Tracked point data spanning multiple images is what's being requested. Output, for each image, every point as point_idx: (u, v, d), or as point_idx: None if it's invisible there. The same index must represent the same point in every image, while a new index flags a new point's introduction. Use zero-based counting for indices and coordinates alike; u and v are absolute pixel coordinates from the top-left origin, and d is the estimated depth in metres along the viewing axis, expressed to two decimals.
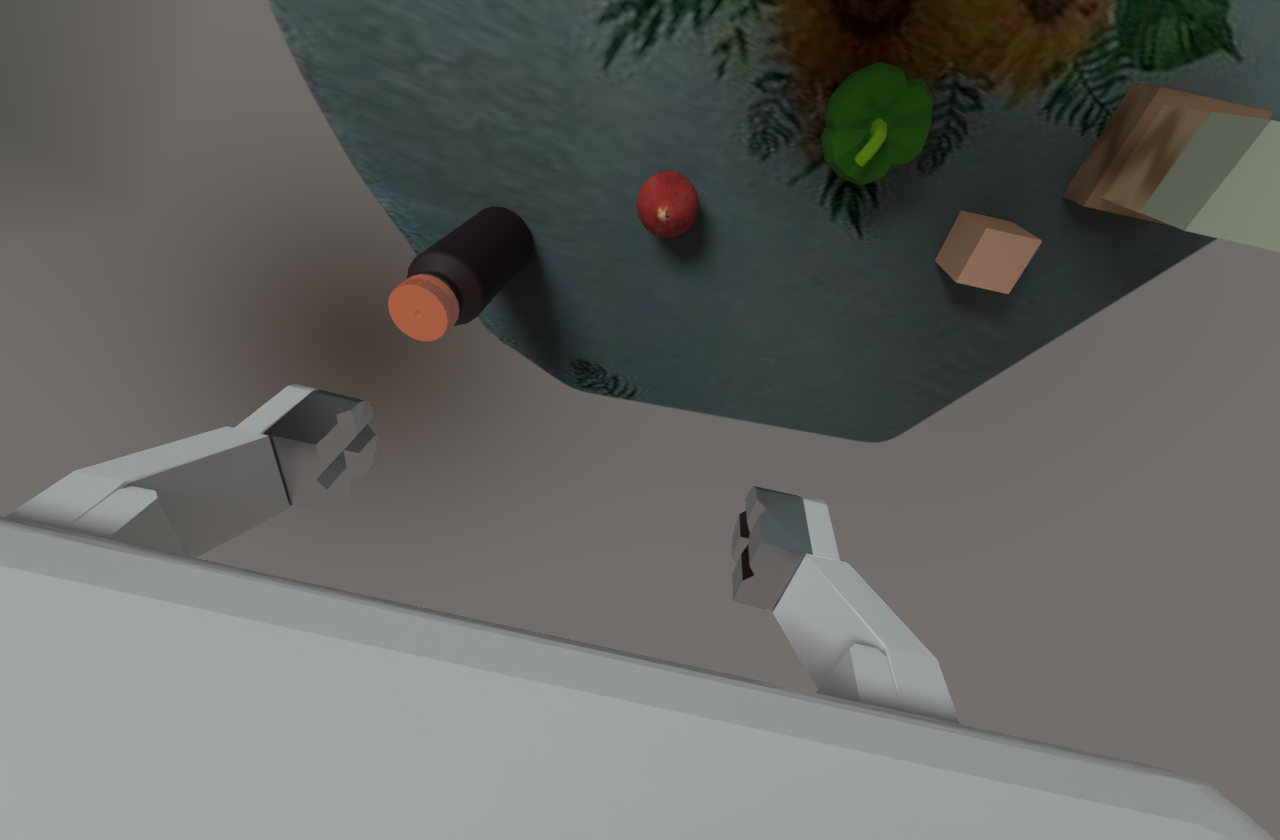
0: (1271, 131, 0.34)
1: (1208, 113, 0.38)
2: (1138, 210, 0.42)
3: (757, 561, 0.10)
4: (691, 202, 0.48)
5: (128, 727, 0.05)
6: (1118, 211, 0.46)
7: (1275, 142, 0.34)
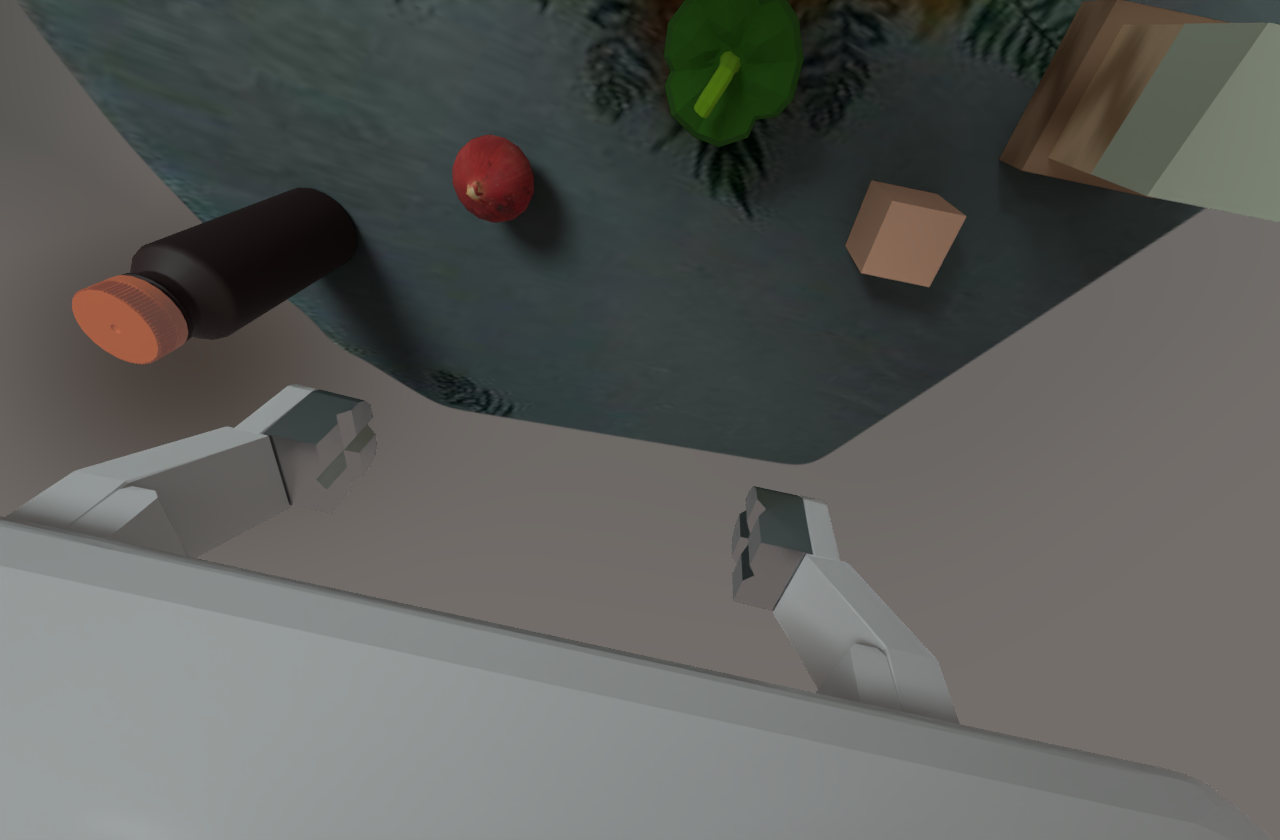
0: (1268, 41, 0.23)
1: (1180, 26, 0.26)
2: (1089, 171, 0.31)
3: (757, 561, 0.10)
4: (516, 175, 0.37)
5: (128, 727, 0.05)
6: (1068, 176, 0.35)
7: (1275, 57, 0.23)
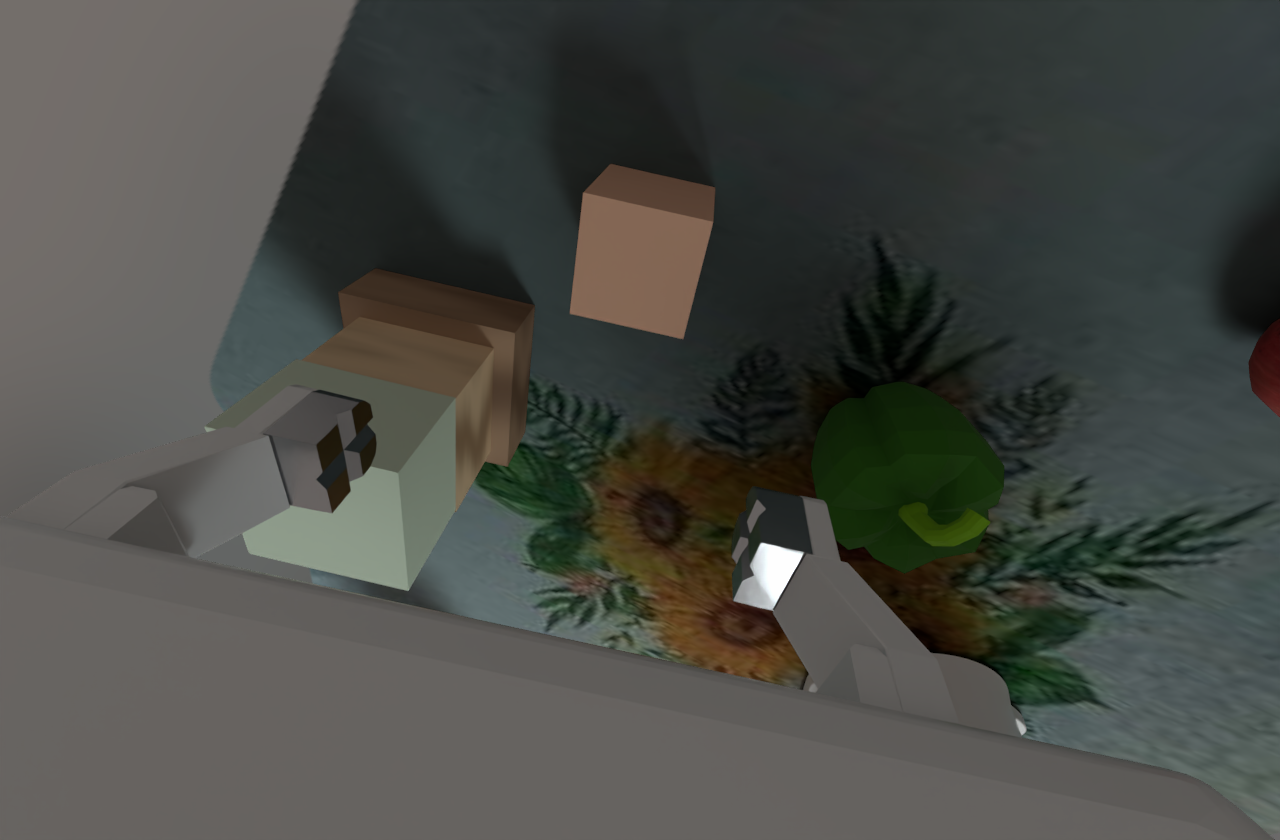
0: (396, 580, 0.23)
1: (457, 508, 0.27)
2: (456, 400, 0.23)
3: (757, 561, 0.10)
4: None
5: (128, 727, 0.05)
6: (455, 322, 0.27)
7: (379, 569, 0.22)
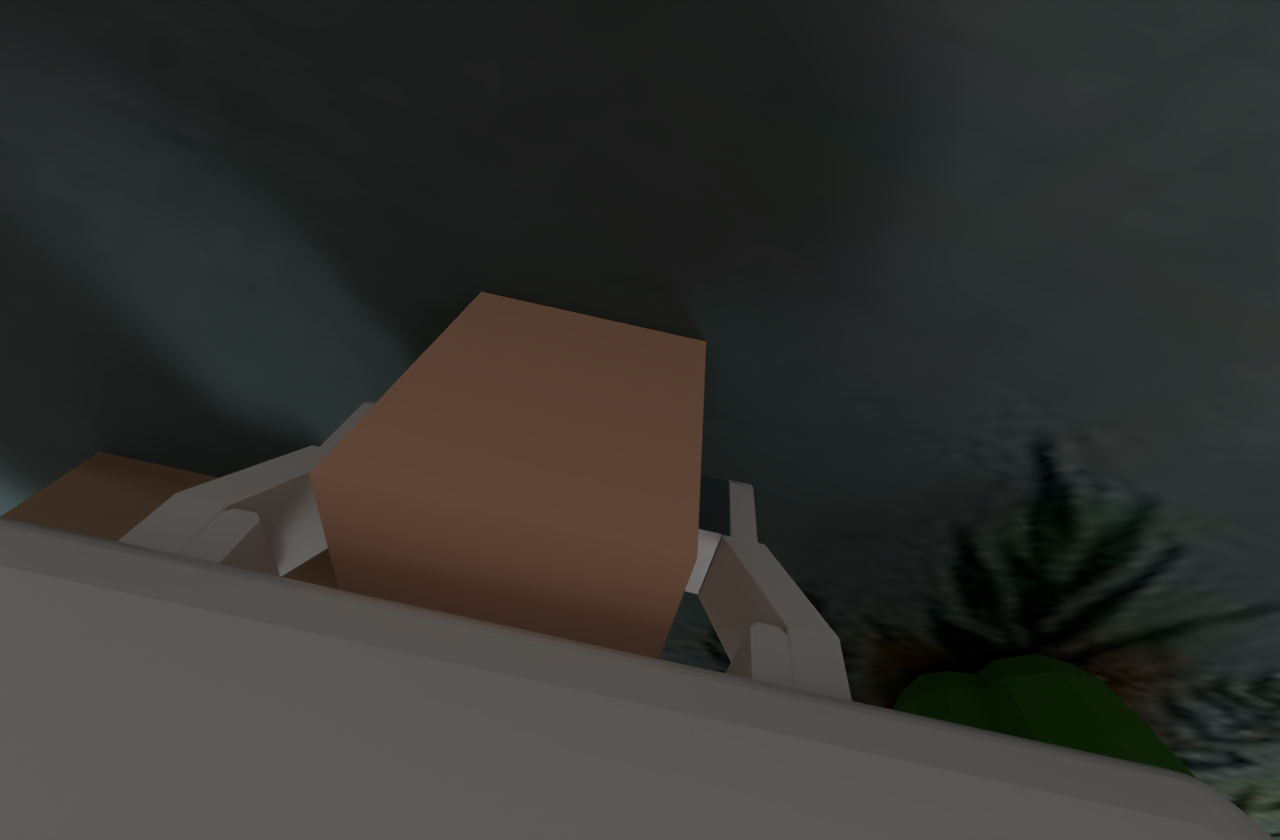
0: None
1: None
2: None
3: None
4: None
5: (128, 727, 0.05)
6: None
7: None
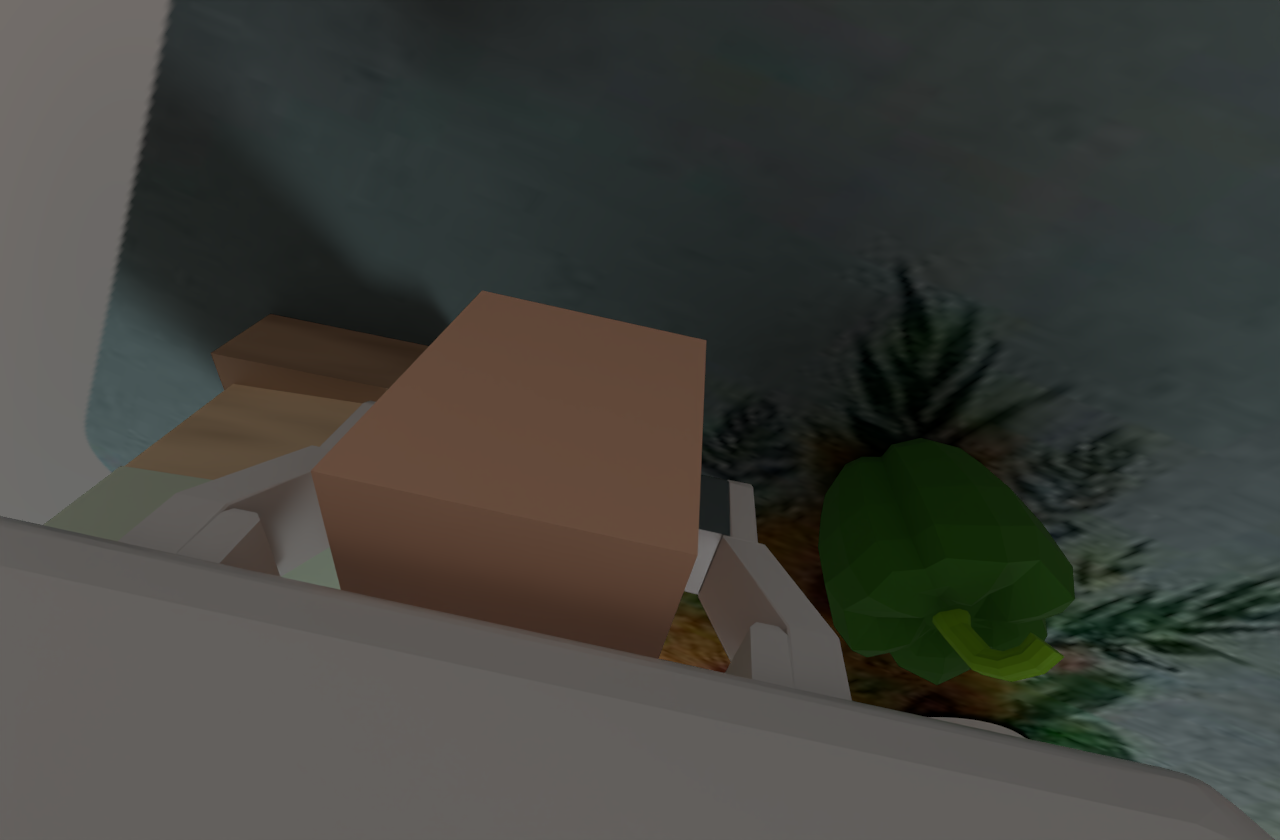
0: None
1: None
2: None
3: None
4: None
5: (128, 727, 0.05)
6: (365, 388, 0.21)
7: None
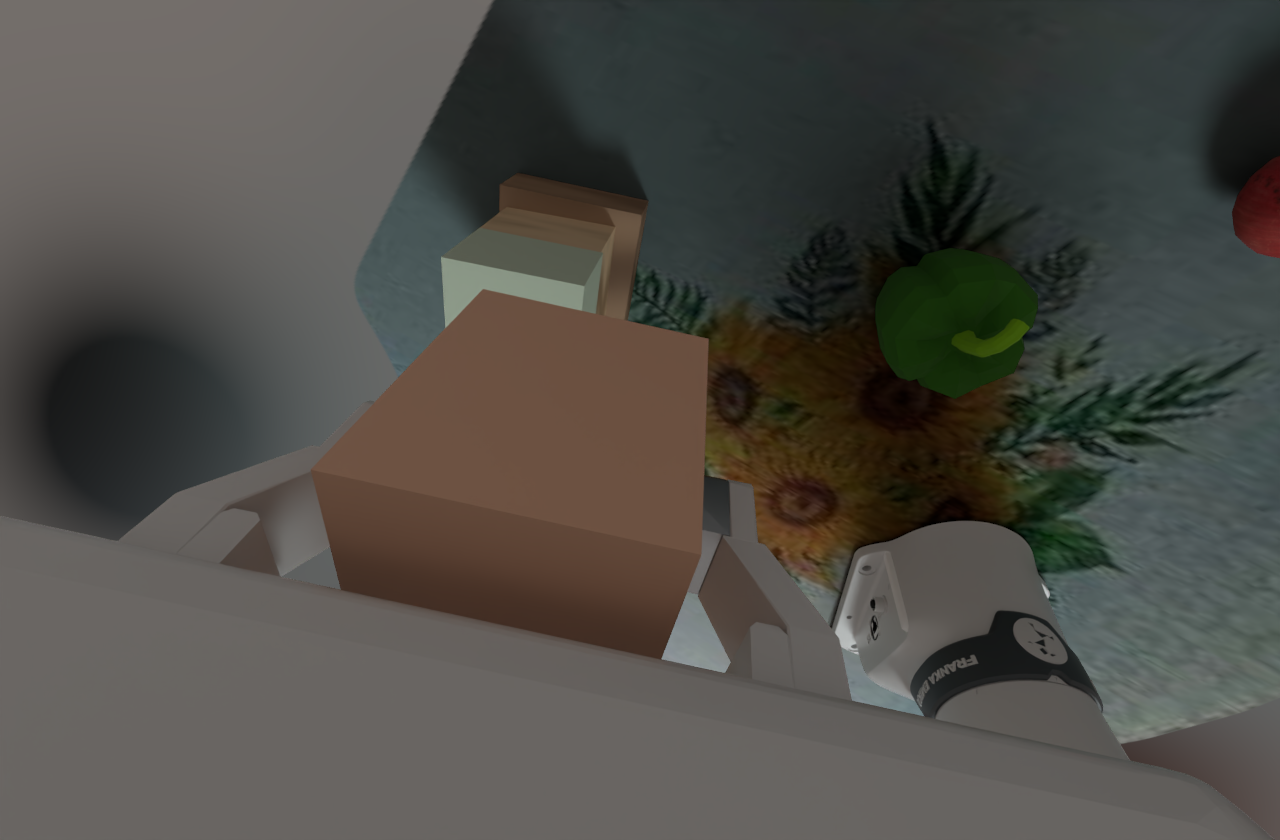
0: None
1: None
2: None
3: None
4: None
5: (128, 727, 0.05)
6: (593, 208, 0.33)
7: None
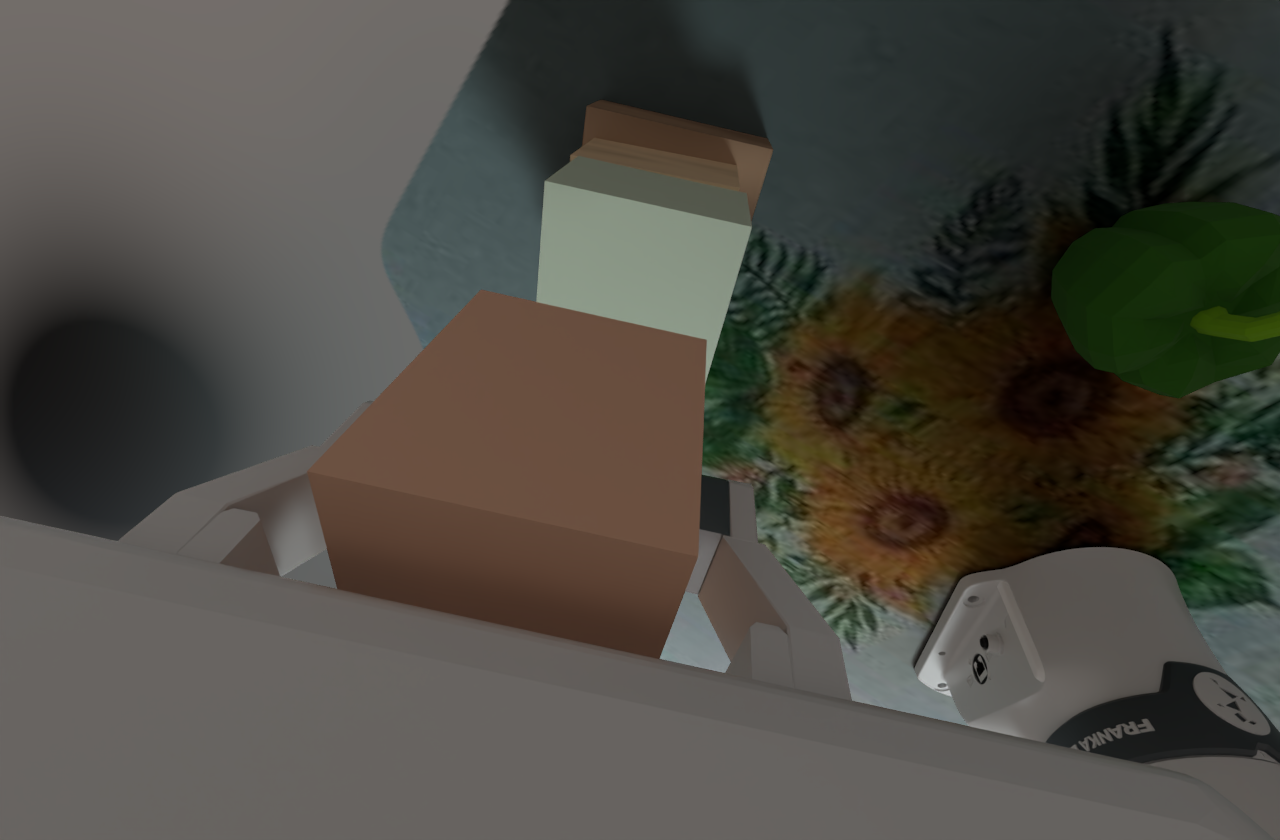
0: None
1: None
2: None
3: None
4: None
5: (128, 726, 0.05)
6: (709, 139, 0.25)
7: None
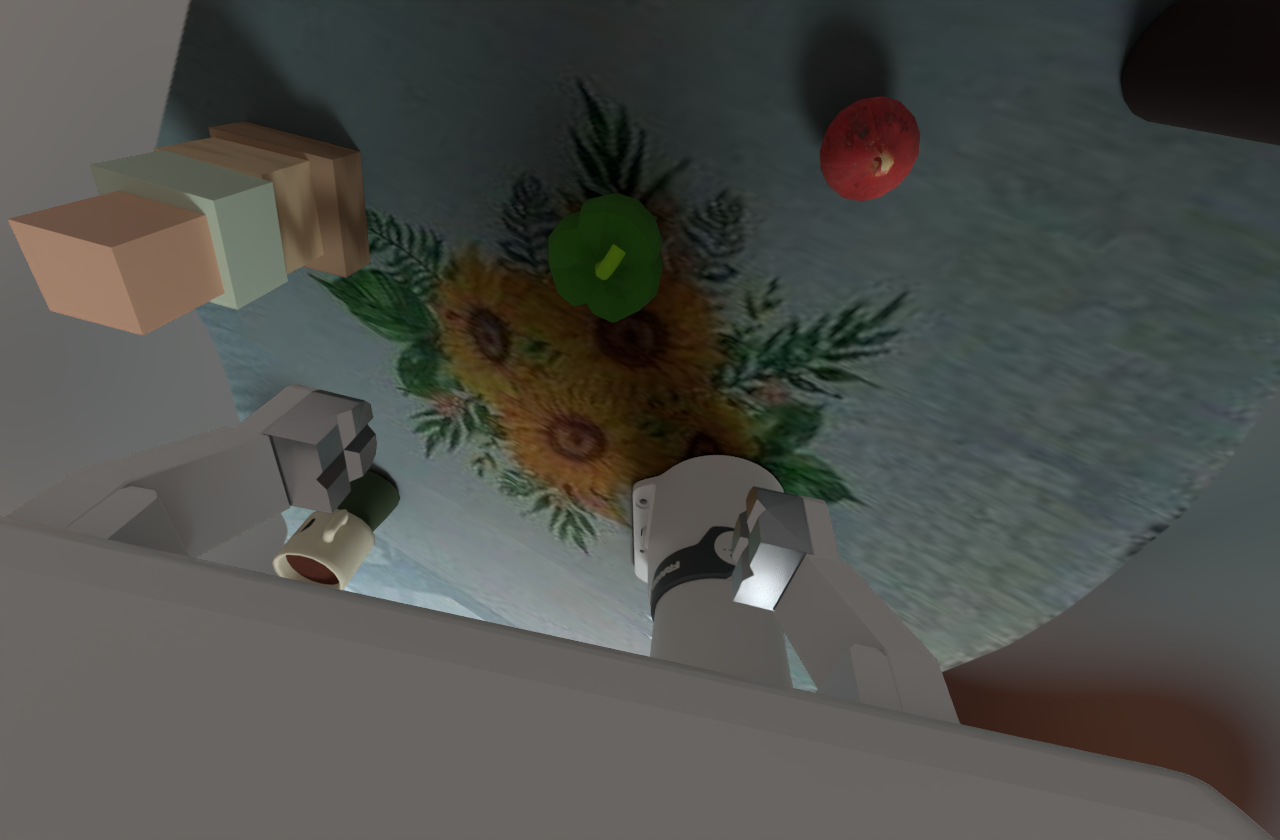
0: (228, 299, 0.34)
1: None
2: (264, 176, 0.35)
3: (757, 561, 0.10)
4: (832, 166, 0.33)
5: (129, 726, 0.05)
6: (291, 151, 0.38)
7: None
